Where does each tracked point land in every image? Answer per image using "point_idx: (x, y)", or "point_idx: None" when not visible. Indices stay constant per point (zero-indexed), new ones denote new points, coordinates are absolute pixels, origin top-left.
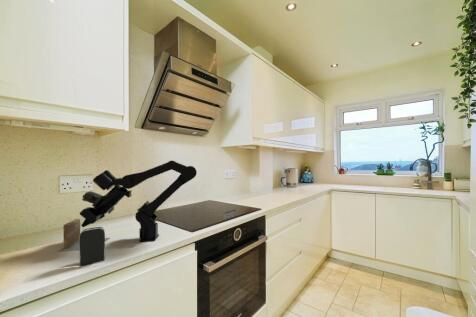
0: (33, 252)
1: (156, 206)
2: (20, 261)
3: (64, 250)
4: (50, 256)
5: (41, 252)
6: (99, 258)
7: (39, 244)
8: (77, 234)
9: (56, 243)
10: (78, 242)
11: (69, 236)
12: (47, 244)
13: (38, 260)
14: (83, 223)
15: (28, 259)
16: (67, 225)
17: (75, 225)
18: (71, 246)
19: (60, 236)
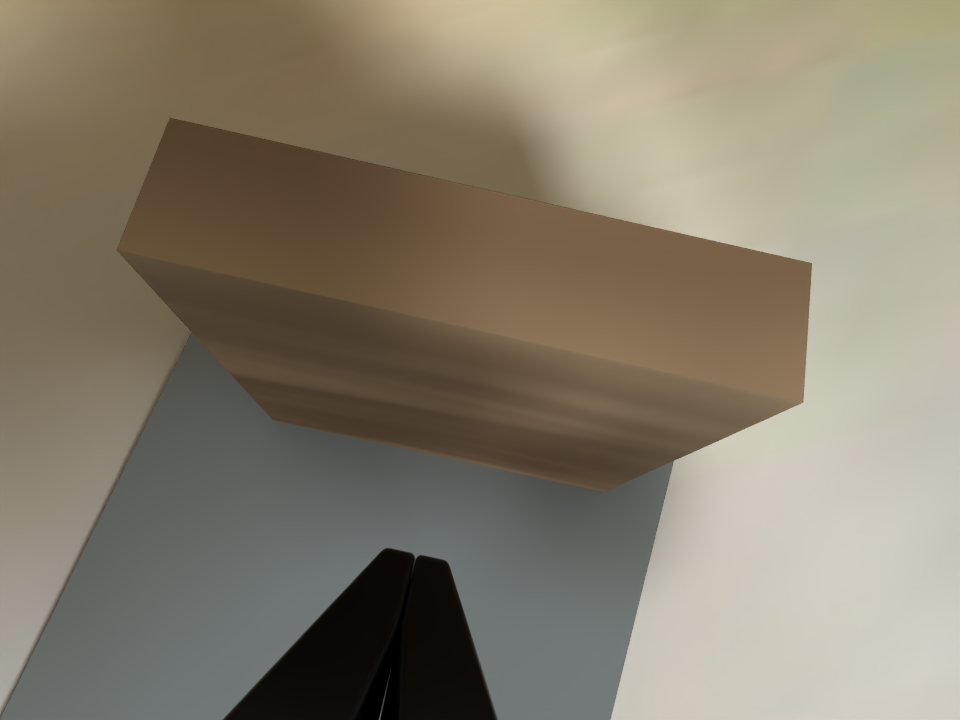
0: (390, 42)
1: None
2: (131, 11)
3: (193, 384)
4: (99, 265)
5: (338, 122)
6: None
7: (683, 19)
8: (542, 451)
9: (639, 190)
10: (493, 494)
11: (247, 371)
12: (643, 100)
13: (31, 173)
14: (330, 626)
15: (149, 64)
16: (144, 223)
17: (496, 375)
18: (337, 436)
19: (947, 157)
